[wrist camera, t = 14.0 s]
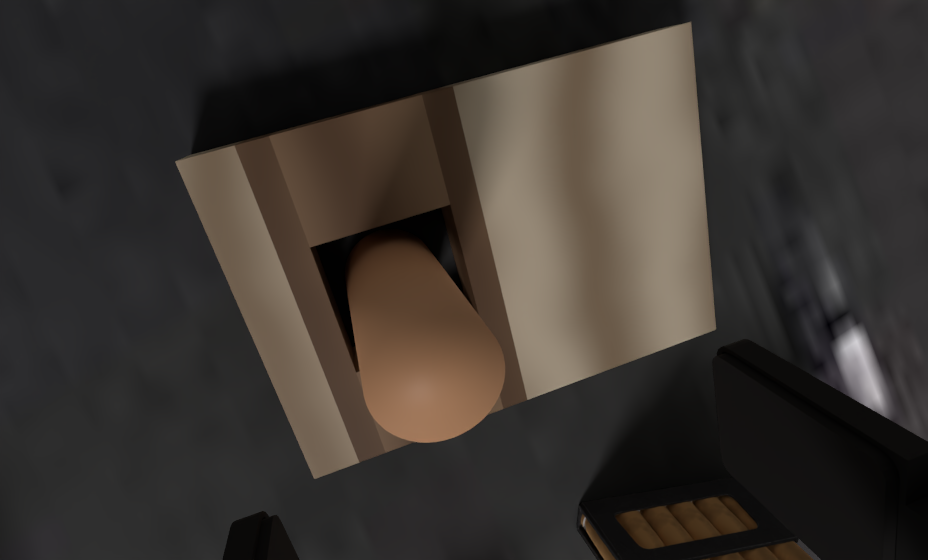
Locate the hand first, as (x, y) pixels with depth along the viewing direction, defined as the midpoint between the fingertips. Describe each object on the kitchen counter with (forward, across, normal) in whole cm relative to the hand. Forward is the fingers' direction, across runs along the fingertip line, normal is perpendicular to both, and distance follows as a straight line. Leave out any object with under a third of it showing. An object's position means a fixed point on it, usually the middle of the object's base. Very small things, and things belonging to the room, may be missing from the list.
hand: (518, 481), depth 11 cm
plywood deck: (+15, -3, 0) cm, 15 cm away
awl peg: (+14, +1, 0) cm, 15 cm away
